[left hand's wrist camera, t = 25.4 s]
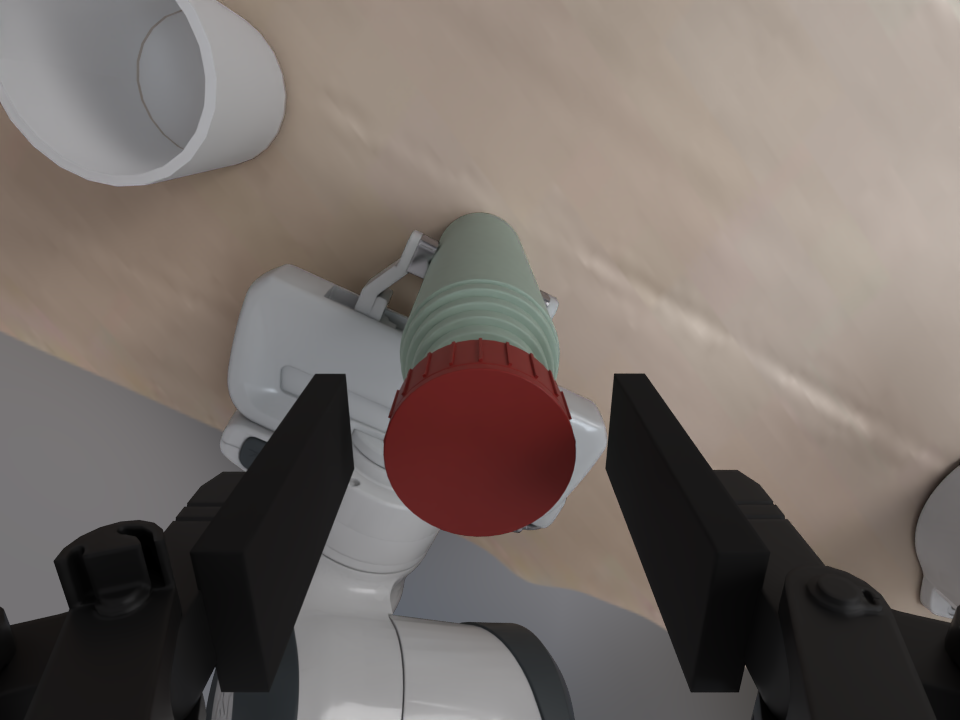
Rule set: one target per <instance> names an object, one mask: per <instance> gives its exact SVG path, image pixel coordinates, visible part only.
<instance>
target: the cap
mask: <svg viewBox="0 0 960 720" xmlns="http://www.w3.org/2000/svg"><path fill="white" fill-rule="evenodd" d="M388 418H390V421H389V424H388V427H387V430H386V434H385V437H384V440H383V443H384V450H383V456H384V465H385V469H386V473H387V477H388V479H389V481H390V484H391V486H392V488H393V490H394V491H395V493H396V495H397V496H398V498H399V499H400V500H401V501H402V502H403V504H404V505H405V506H406V507H407V508H408V509H409V510H410V511H411V512H412V513H413V514H415V515H416V516H418V517H419V518H420V519H422V520H423V521H425V522H427V523H428V524H430V525H432V526H434V527H436V528H439V529H441V530H444V531H447V532H450V533H454V534H459V535H464V536H476V537H481V536H494V535H501V534H505V533H509V532H513V531H515V530H518V529H521V528H523V527H525V526H527V525H529V524H531V523H533V522H535V521H536V520H538V519H539V518H541V517H542V516H543V515H545V514H546V513H547V512H548V511H549V510H550V509H552V507H553V506H554V505H555V504H556V503H557V502H558V501H559V499H560V498H561V496H562V495H563V494H564V492H565V491H566V489H567V487H568V485H569V483H570V480H571V477H572V474H573V471H574V467H575V461H576V440H575V437H574V433H573V430H572V426H571V423H570V420H571V419H572V417H571V414H570V411H569V408H568V405H567V402H566V399H565V396H564V393H563V391H561V392H560V390H559V388H558V385H557V383H556V381H555V380H554V377H553V374H552V371H551V370H549V371H548V370H547V369H546V368H545V366H544V365H543V364H541V363H540V362H539V361H538V360H537V359H536V358H534V355H533V354H532V353H530V354H529V353H527V352H525V351H523V350H521V349H519V348H517V347H515V346H512V345H510V344H509V342H506V343H503V342H498V341H493V340H482V338H479V340H467V341H461V342H457V343H455V341H453V342H452V344H450V345H447V346H445V347H442V348H440V349H438V350H436V351H434V352H433V353H431V352H429V353H427V356H426V357H425V358H424V359H423V360H421V361H420V362H419V363H418V364H417V365H416V366H415V367H414V368H413V369H409V371H408V374H407V377H406V379H405V380H404V382H403V384H402V386H401V388H400V390H397V392H396V395H395V398H394V401H393V404H392V407H391V410H390V413H389V416H388Z"/></svg>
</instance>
